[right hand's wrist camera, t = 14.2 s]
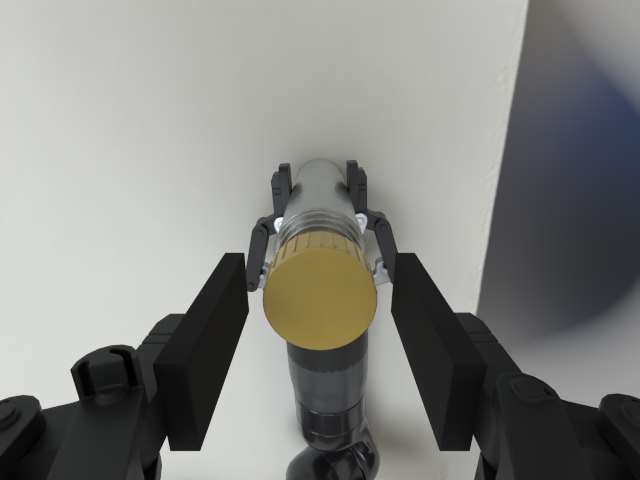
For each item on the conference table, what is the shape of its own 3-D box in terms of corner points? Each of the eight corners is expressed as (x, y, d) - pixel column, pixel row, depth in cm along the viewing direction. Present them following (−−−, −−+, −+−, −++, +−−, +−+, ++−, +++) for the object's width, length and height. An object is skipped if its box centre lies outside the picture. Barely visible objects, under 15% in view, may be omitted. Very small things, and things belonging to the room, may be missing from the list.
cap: (283, 329, 16) (278, 360, 14) (256, 241, 14) (246, 262, 12) (378, 311, 15) (386, 340, 13) (361, 219, 14) (368, 237, 12)
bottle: (302, 210, 34) (277, 356, 14) (291, 164, 33) (245, 255, 13) (347, 200, 34) (388, 336, 14) (338, 153, 32) (369, 230, 12)
